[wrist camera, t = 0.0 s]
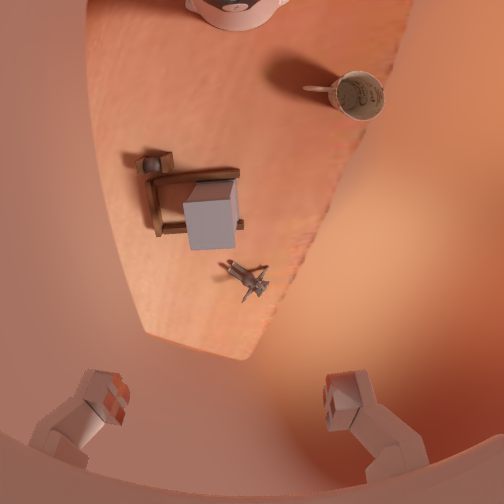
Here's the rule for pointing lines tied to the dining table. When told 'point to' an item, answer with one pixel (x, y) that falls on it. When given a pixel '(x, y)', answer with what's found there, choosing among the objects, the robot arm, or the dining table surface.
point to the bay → (165, 166)
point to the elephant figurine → (250, 280)
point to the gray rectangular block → (212, 214)
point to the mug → (355, 95)
